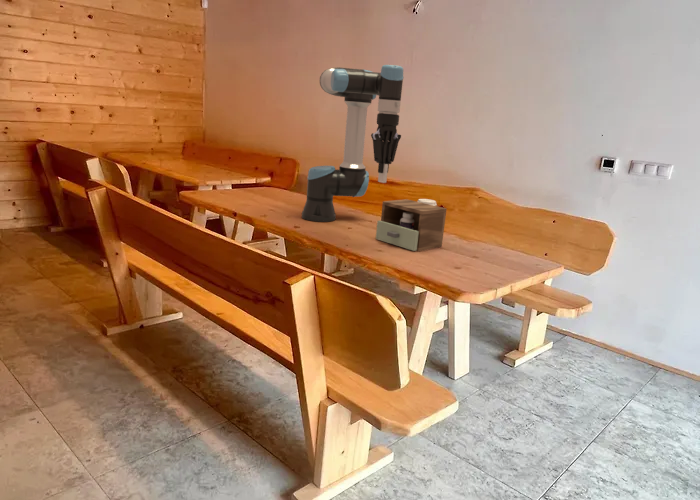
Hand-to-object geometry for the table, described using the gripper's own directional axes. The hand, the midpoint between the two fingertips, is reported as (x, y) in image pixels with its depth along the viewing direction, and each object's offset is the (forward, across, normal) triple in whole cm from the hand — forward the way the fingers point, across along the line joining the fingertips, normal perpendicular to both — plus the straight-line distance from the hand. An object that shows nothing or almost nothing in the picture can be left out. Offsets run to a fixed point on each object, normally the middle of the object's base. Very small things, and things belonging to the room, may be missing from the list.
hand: (382, 182), depth 184 cm
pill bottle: (+22, +16, 0) cm, 27 cm away
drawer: (+24, +16, 0) cm, 29 cm away
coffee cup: (+25, +33, +5) cm, 41 cm away
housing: (+24, +19, 0) cm, 31 cm away
